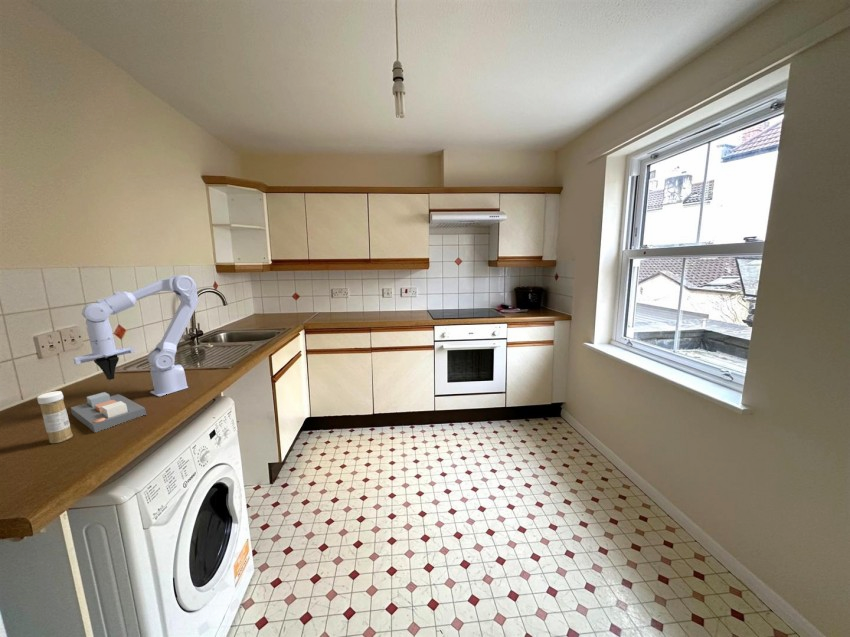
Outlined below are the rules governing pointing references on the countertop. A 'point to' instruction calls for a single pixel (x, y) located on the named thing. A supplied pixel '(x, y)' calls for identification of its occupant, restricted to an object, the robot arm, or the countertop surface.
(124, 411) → the off-white button
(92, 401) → the grey button
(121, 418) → the console
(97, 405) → the terracotta button
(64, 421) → the spice jar
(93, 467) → the countertop surface
